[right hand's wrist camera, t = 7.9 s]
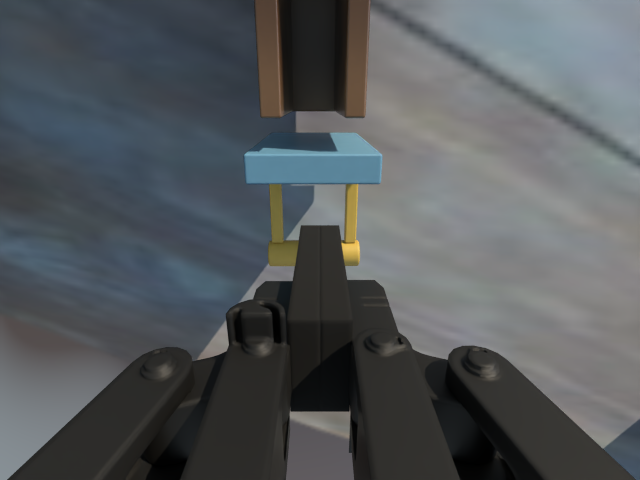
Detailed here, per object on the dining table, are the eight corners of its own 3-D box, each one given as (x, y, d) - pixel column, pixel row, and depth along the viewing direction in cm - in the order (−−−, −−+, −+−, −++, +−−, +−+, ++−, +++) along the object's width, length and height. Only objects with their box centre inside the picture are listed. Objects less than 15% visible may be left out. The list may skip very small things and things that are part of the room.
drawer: (352, 233, 26) (373, 306, 17) (275, 233, 25) (254, 306, 16) (371, -286, 16) (440, -743, 8) (251, -287, 16) (176, -753, 7)
